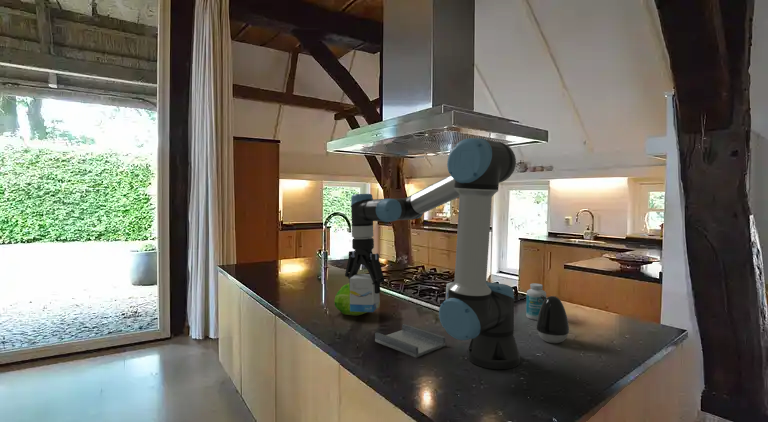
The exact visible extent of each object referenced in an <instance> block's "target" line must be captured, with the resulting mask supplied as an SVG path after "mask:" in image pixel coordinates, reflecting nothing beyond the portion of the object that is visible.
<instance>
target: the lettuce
mask: <svg viewBox="0 0 768 422" xmlns="http://www.w3.org/2000/svg"><path fill="white" fill-rule="evenodd" d="M333 304H334V307H335V308H336V310H338V311H339V312H340V313H341V314H343V315H348V316H356V317H357V316H358V317H359V316H361V315H363V314H366V313H368V312H354V311H350V286H349V282H348V283H346V284H344V285H342V286H341V287H340V289H339V290H337V293H336V294H335V297H334V303H333ZM378 304H379V306H378V307H377V308H376V310H377V309H379V308H380V306H381V303H380V302H378Z"/></svg>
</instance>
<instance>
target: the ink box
mask: <svg viewBox="0 0 768 422" xmlns="http://www.w3.org/2000/svg"><path fill="white" fill-rule="evenodd" d="M372 283H373V281H372V279H371V276H370V274H369V273H360V274H358V273H357V274H356V275H354V276H353V277H351V278H350V311H354V312H367V313H374V312H375V311H376V310H377V309H376V308H377V307H378V306H379V304H378V303H372ZM379 307H380V306H379Z"/></svg>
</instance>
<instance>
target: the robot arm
mask: <svg viewBox="0 0 768 422" xmlns="http://www.w3.org/2000/svg"><path fill="white" fill-rule="evenodd" d="M446 165H447V166H446V167H447V172H448V173H449V175H448V176H446V177H444V178H442V179H440V180H439V181H436V182H434V183H432V184H430V185H428V186H427V187H424V188H423V189H420V190H419V191H417V192H415V193H413V194H411V195H408V196H407V197H404V198H392V197H391V198H389V197H388V198H387V197H386V198H377V199H376V198H375V199H374V197H373V194H371V193H354V194H352V195H351V200H350V203H351V204H350V208H351V209H350V210H351V237H352V241H351V243H352V244H351V245H352V246H351V248H352V249H353V250H350V251H348V260H347V263H346V264H347V265H346V270H345V272H344V275H345V278H348V283H349V286H350V278H351V277H353V276H354V275H356V274H358V272H359V270H360V267H361V266H364V267H365V268H366V269H367V272H368V274H370V276H371V279H372V281H373V283H372V303H378V302H379V303H380V302H381V301H380V300H381V299H380V293H381V283H384V282H385V277H384V272H383V269H382V266H381V262H380V254H379V253H378V252H377V253H373V249H374V248H375V243H374V242H375V241H374V240H375V239H374V238H373V237H374V222H384V223H392V222H396V221H413V220H416V219H420V218H421V217H423V215H424V214H425V213H427V212H430V211H431V210H433V209H436V208H438V207H441V206H442V205H444V204H447V203H449V202H452V201H454V200H456V199H458V213H457V215H458V217H457V229H456V231H457V234H456V249H455V263H454V264H455V268H454V279H453V280H454V281H452V282H453V283H451V282H450V283H451V284H450V285H449V287H448V299H446V298H445V300H444V301H443V302H441V304H440V307H439V308H438V318H439V321H440V324H441V326H442V329H443V328H444V329H445V332H446V333H447V334H448V335H449V336H450V337H452V338H454V339H455V340H458V341H469V340H470V339H471V340H470V343H469V346H468V349H467V359H468V360H469V361H470V363H472V364H474V365H476V366H479V367H480V368H481V367H482V368H485V369H490V370H508V369H512V368H515V367H518V366H519V365H520V362H521V359H520V358H521V355H520V351H519V348H518V344H517V342H516V338H515V336H514V335H515V334H514V333H515V332H514V331H515V330H514V327H515V325H514V323H515V322H514V321H515V315H514V314H515V295H514V293H515V292H514V289H513V287H512V286H510V285H507V284H505V283H498V282H492V281H491V282H489V281H487V277H488V262H489V249H490V247H489V246H490V245H489V244H490V231H491V230H490V229H491V219H492V218H491V216H492V215H491V214H492V204H493V203H492V201H493V197H494V195H496V194H497V193H498V192H499V187H500V186H499V185H500V183H504V182H505V181H507V180H509V178H510V177H512V175H513V173H514V171H515V169H516V167H517V166H516V165H517V158H516V154H515V151H514V150H513V149H512V148H511V147H510V146H509V145H508V144H506V143H504V142H502V141H501V142H500V141H496V140H495V141H494V140H490V139H485V138H479V137H478V138H477V137H475V138H474V137H472V138H471V137H469V138H464V139H462V140H460V141H458V142H457V143H456V144H455V145H454V146H453V147H452V148H451V150H450V152H449V155H448V157H447V164H446Z"/></svg>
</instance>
